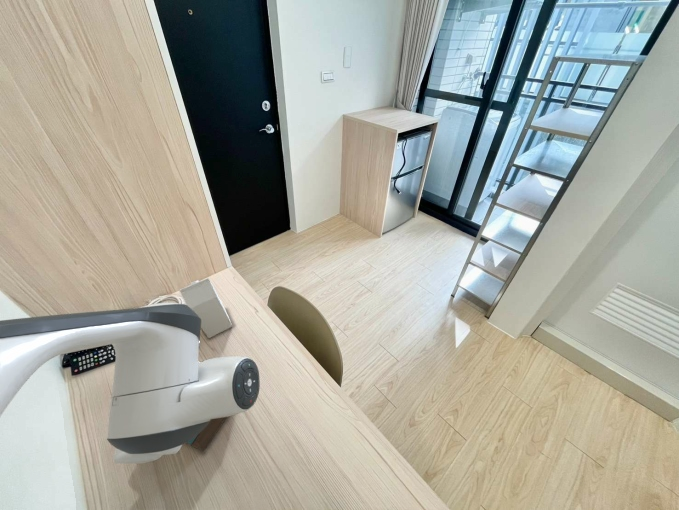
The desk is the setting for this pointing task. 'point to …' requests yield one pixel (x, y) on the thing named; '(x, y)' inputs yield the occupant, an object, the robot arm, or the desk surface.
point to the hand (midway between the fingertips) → (135, 396)
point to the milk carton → (206, 306)
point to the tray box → (207, 433)
